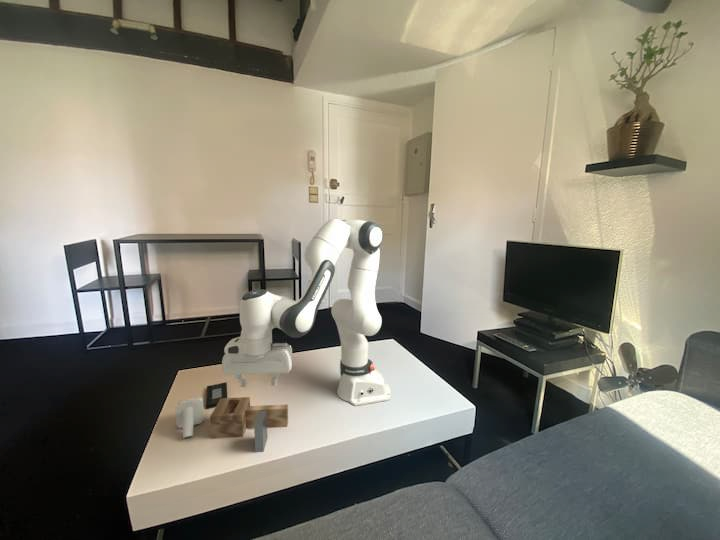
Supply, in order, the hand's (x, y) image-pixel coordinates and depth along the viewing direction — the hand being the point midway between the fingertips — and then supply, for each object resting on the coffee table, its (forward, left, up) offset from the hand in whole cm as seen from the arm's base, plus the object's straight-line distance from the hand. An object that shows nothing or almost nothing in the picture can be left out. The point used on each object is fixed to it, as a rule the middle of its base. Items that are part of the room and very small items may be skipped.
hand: (258, 385), depth 92 cm
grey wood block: (0, 0, -21) cm, 21 cm away
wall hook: (+26, -9, -21) cm, 35 cm away
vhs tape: (+24, -28, -22) cm, 42 cm away
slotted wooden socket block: (+5, -9, -21) cm, 23 cm away
